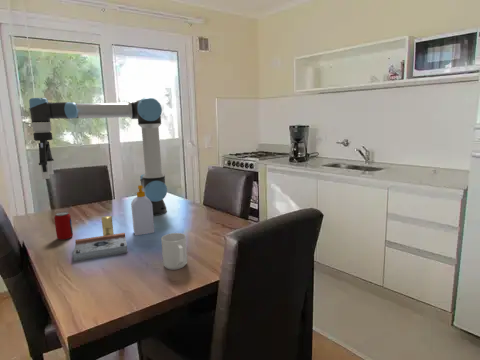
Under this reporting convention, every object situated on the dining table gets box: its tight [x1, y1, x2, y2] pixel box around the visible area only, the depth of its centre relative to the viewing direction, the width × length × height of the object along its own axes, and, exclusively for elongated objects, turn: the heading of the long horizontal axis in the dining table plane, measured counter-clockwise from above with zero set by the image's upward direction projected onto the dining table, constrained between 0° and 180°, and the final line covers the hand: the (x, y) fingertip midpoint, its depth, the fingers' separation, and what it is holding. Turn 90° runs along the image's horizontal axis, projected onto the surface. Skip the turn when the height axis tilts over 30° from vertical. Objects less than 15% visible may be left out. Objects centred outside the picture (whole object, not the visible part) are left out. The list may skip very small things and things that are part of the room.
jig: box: [72, 232, 129, 262], centre depth 139 cm, size 20×14×4 cm
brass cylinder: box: [100, 215, 114, 236], centre depth 153 cm, size 4×4×10 cm
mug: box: [160, 232, 188, 271], centre depth 122 cm, size 12×9×11 cm
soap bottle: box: [130, 184, 155, 236], centre depth 159 cm, size 9×7×23 cm
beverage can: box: [53, 211, 74, 241], centre depth 155 cm, size 7×7×12 cm
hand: (48, 176), depth 159 cm, fingers open, 13 cm apart
